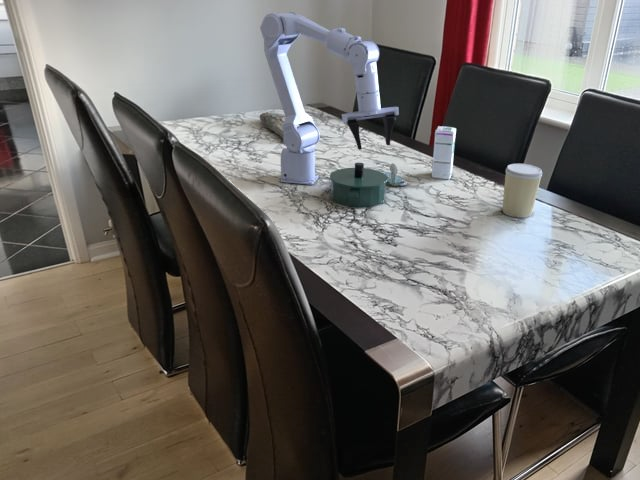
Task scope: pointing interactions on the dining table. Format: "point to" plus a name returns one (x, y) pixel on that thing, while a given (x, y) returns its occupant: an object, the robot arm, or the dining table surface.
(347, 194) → the pot
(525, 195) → the coffee cup
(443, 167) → the syrup box
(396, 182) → the pacifier
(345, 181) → the lid
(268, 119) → the elongated rock
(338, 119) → the dining table surface
